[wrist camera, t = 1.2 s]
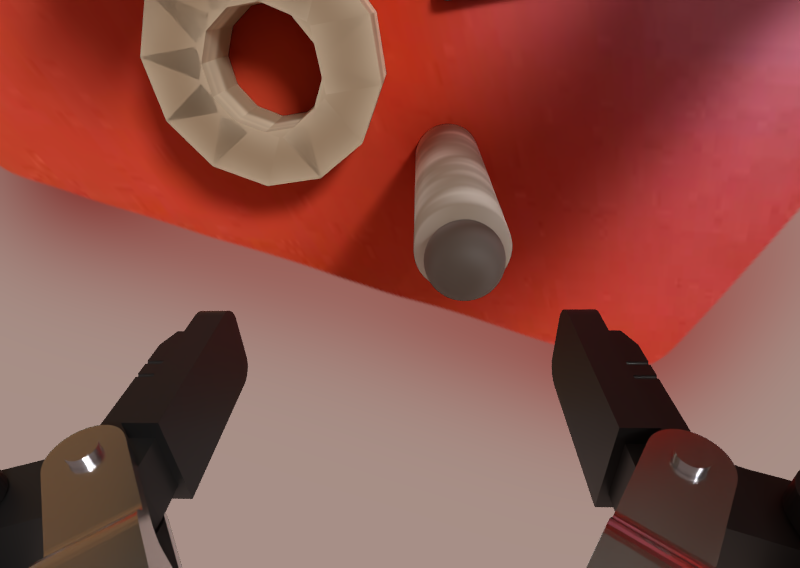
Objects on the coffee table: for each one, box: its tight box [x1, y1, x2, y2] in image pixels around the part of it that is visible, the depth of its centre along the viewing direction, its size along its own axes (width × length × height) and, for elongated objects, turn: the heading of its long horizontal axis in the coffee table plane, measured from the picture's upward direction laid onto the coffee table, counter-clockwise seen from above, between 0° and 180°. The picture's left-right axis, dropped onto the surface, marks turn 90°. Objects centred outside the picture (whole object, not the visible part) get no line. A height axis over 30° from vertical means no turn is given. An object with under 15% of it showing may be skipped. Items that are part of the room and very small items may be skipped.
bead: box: [140, 0, 386, 186], centre depth 26 cm, size 12×12×4 cm
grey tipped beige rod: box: [414, 124, 512, 301], centre depth 24 cm, size 4×4×15 cm
